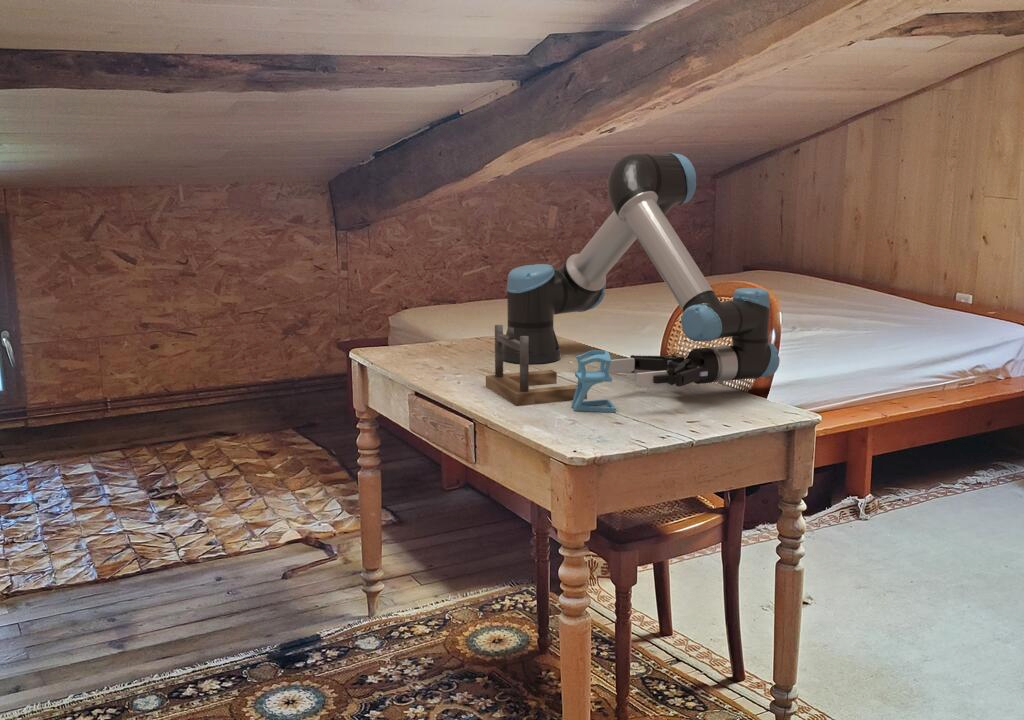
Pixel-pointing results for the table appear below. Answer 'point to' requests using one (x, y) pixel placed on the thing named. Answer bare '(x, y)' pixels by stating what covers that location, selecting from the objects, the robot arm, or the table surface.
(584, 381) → the chair
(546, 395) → the wooden post frame
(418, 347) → the table surface
